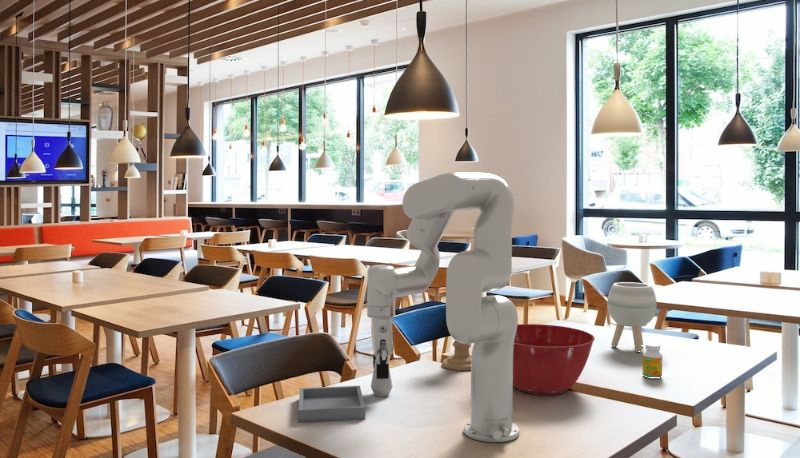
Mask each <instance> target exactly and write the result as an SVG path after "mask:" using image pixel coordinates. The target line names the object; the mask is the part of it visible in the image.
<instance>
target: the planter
mask: <svg viewBox="0 0 800 458" xmlns="http://www.w3.org/2000/svg"><path fill="white" fill-rule="evenodd" d="M606 304H607V306H606V307H607V311H608V314H609V316H610V318H611V319H612V320H613V321H614V322H615V323H616V327H615V330H614V333H613V337H612V340H611V344H610V346H611V345H612V346H617V347H618V345H619V342H620V339H621V337H622V335H623V332H624V329H625V327H631V330H632V337H633V345H634V351H635V352H636V351H643V346H644V340H643V339H644V338H643V332H642V327H646V326H647V325H648V324H649V323H651V321H652V320H653V319H654V317H655V316H656V313H657V307H658V305H657V297H656V293H655V291H654V288H653V286H652V285H651V284H649V283H643V282H633V281H632V282H631V281H629V282H627V281H626V282H625V281H621V282H614V283H613V284H612V285H611V287H610V290H609V292H608V296H607V303H606ZM641 345H643V346H641ZM612 346H611V347H612Z"/></svg>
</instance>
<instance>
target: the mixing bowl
mask: <svg viewBox="0 0 800 458" xmlns="http://www.w3.org/2000/svg"><path fill="white" fill-rule="evenodd" d="M595 337H596V336H594V335H593V334H592V333H589V332H588V331H585V330H582V329H578V328H573V327H569V326H562V325H553V324H552V325H551V324H537V323H536V324H535V323H518V325H517V330H516V335H515V341H514V351H513V387H515V388H517V389H518V390H519V391H522V392H524V393H528V394H533V395H541V396H542V395H543V396H548V395H549V396H553V395H559V394H562V393H564V392H566V391H567V390H569V389H571V388H572V387H573V386H574V385H575V384H576V382H577V381H578V380H579V378H580V376H581V375H582V373H583V371H584V369H585V367H586V365H587V363H588V360H589V357H590V353H591V350H592V347H593V342H595V340H596V338H595Z"/></svg>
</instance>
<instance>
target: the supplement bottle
mask: <svg viewBox="0 0 800 458" xmlns="http://www.w3.org/2000/svg"><path fill="white" fill-rule="evenodd" d="M660 350H661V345H660V344H659V343H655V342H653V343H652V342H651V343H650V342H649V343H645V351H643V353H642V376H643V375H644V376H647V377H661V376H662V377H663V353H662V352H661V351H660Z"/></svg>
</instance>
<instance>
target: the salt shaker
mask: <svg viewBox="0 0 800 458" xmlns="http://www.w3.org/2000/svg"><path fill="white" fill-rule="evenodd" d="M373 354H374V356H376V359H375V365H374V368H373V371H372V375H371V376H372V379H371V383H370V387H371V391H372V393H373V395H374V396H375V397H381V398H384V397H388V396H390V393H391V391H392V388H393V381H392V377H391V371H390V369H389V378H388V379H377V364H378V360H377V355H376V354H375V353H374V352H373ZM389 356H390V354H389V353H388V357H389Z"/></svg>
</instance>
